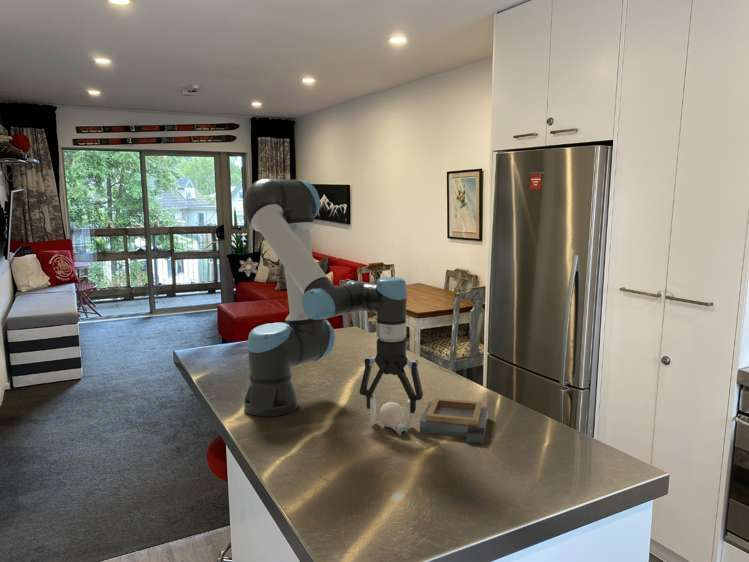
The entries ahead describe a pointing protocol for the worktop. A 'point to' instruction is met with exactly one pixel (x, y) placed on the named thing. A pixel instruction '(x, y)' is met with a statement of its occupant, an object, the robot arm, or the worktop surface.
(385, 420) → the light bulb
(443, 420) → the grey brown-rimmed square tray
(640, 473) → the worktop surface
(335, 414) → the worktop surface
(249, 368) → the robot arm
